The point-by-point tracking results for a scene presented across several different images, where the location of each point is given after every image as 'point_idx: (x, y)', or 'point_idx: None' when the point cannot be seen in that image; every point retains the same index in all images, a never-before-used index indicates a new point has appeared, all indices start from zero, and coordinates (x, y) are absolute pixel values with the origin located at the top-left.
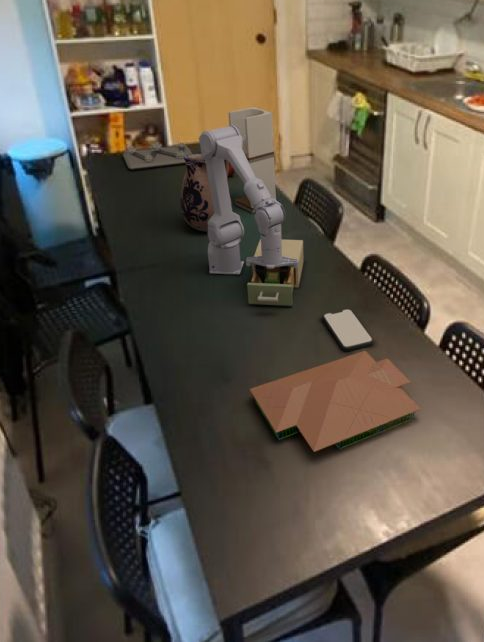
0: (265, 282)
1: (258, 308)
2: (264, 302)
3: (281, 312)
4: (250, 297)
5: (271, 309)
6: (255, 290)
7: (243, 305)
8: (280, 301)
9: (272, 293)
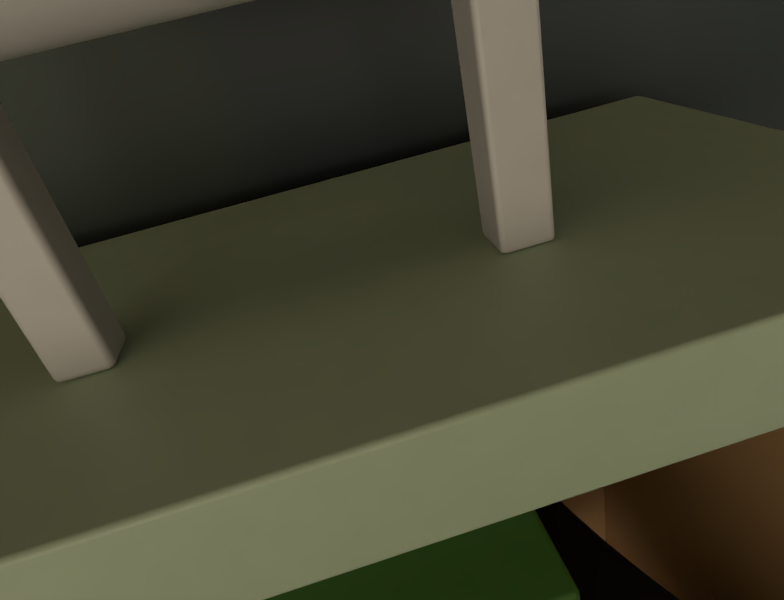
0: (539, 558)
1: (457, 81)
2: (396, 174)
3: (27, 89)
4: (684, 130)
5: (246, 123)
6: (702, 213)
7: (686, 87)
8: (93, 267)
9: (241, 311)
